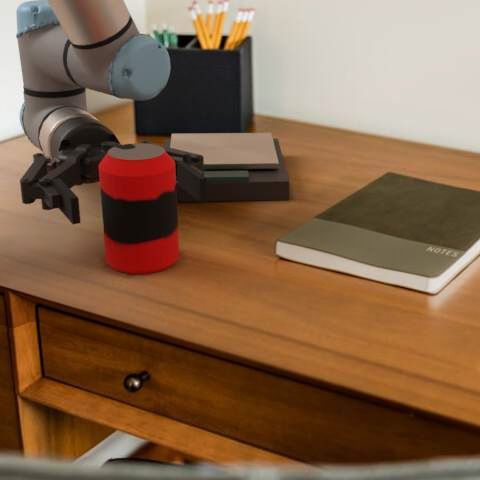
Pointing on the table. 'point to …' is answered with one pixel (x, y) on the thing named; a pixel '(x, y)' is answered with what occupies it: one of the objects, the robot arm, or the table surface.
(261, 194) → the scale
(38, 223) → the table surface
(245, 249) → the table surface
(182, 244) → the table surface
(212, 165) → the scale platter
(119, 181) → the soda can
